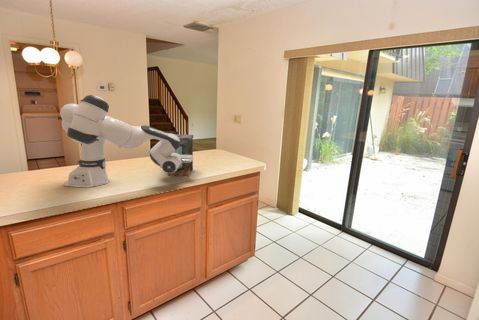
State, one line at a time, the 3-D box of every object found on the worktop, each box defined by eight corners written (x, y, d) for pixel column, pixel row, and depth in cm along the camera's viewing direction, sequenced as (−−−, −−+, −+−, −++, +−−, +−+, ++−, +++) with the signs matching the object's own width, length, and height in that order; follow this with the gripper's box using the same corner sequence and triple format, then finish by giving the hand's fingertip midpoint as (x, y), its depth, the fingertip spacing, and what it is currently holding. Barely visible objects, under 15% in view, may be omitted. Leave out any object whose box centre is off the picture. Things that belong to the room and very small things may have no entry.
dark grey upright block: (164, 176, 162) (163, 137, 156) (169, 169, 178) (168, 134, 172) (190, 176, 164) (190, 138, 158) (193, 170, 179) (193, 134, 173)
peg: (174, 168, 161) (173, 146, 158) (175, 166, 166) (174, 145, 162) (181, 168, 162) (180, 146, 158) (182, 166, 166) (182, 145, 163)
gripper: (191, 155, 149) (194, 151, 163) (157, 154, 148) (162, 150, 161) (192, 165, 151) (194, 160, 164) (157, 165, 149) (162, 160, 163)
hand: (178, 155), depth 163 cm, fingers closed on peg, 4 cm apart
